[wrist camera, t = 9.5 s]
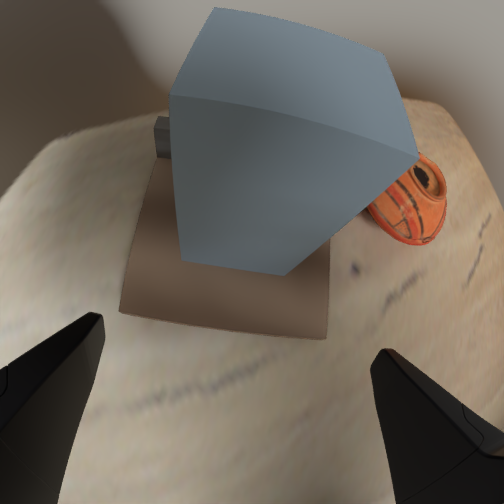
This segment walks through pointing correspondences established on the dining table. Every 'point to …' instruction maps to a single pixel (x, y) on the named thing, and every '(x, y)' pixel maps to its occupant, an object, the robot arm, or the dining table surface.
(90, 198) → the dining table surface
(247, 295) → the plate
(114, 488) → the dining table surface
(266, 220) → the blue-grey carton
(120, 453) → the dining table surface
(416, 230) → the pot
